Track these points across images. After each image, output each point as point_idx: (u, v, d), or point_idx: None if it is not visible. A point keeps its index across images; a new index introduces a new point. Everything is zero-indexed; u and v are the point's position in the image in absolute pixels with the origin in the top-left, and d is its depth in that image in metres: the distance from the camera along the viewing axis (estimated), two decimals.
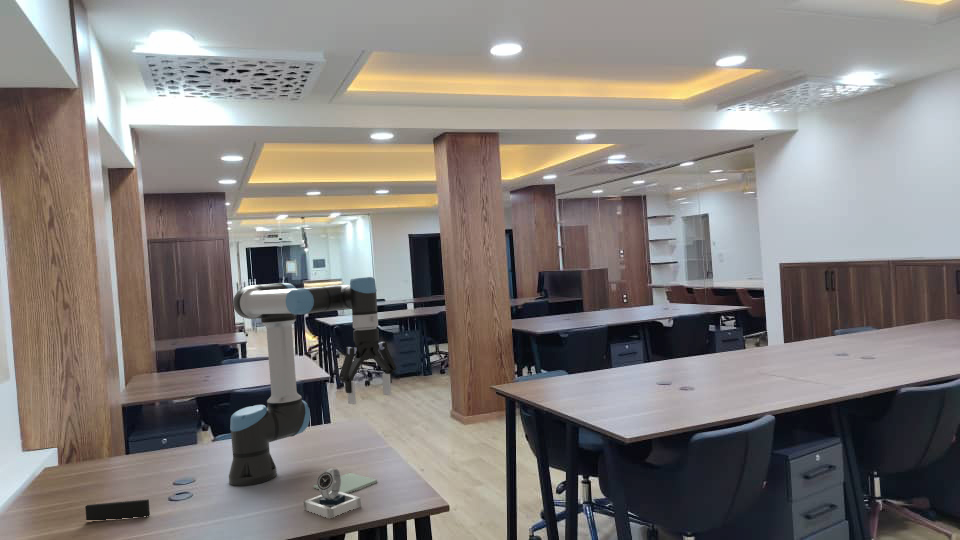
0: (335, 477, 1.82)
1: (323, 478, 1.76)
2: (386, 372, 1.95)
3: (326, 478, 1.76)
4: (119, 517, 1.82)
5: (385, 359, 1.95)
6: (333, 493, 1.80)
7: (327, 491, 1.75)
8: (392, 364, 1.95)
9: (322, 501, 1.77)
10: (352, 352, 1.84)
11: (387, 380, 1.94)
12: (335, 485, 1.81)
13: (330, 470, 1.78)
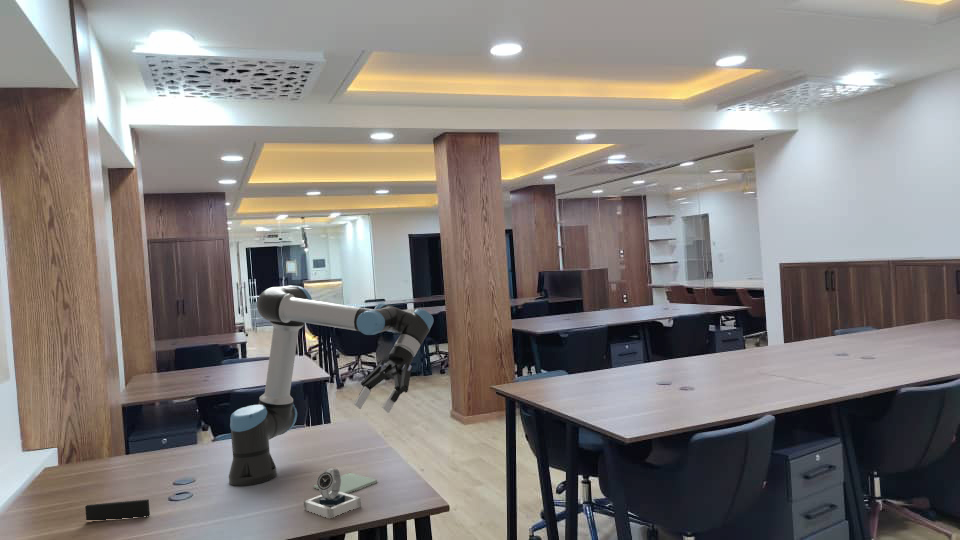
0: (335, 477, 1.82)
1: (323, 478, 1.76)
2: (367, 387, 2.01)
3: (326, 478, 1.76)
4: (119, 517, 1.82)
5: (372, 376, 2.03)
6: (333, 493, 1.80)
7: (327, 491, 1.75)
8: None
9: (322, 501, 1.77)
10: None
11: (367, 395, 1.99)
12: (335, 485, 1.81)
13: (330, 470, 1.78)
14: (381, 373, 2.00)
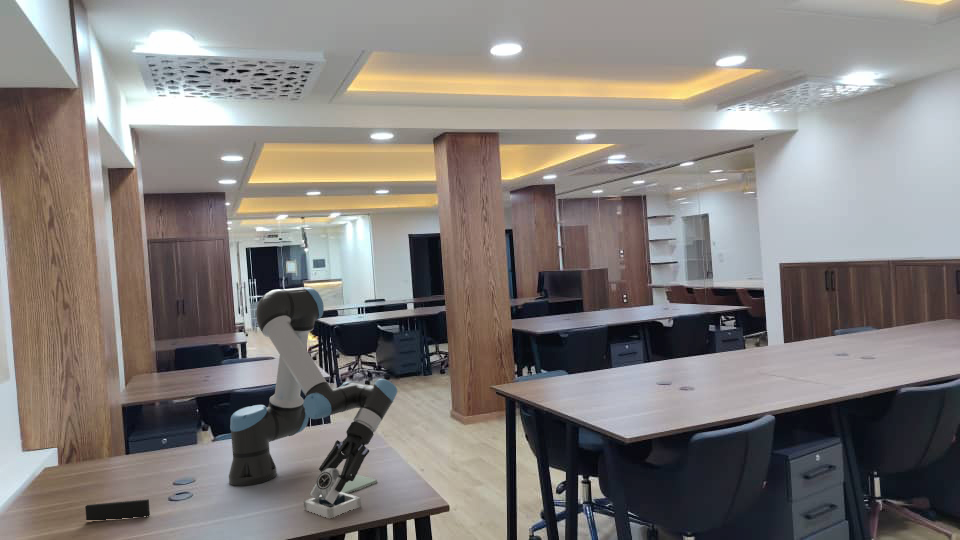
0: (334, 477, 1.82)
1: (322, 478, 1.76)
2: None
3: (326, 477, 1.76)
4: (119, 517, 1.82)
5: (330, 458, 1.85)
6: None
7: (326, 491, 1.75)
8: None
9: (322, 501, 1.77)
10: None
11: None
12: None
13: (329, 470, 1.78)
14: (339, 453, 1.83)
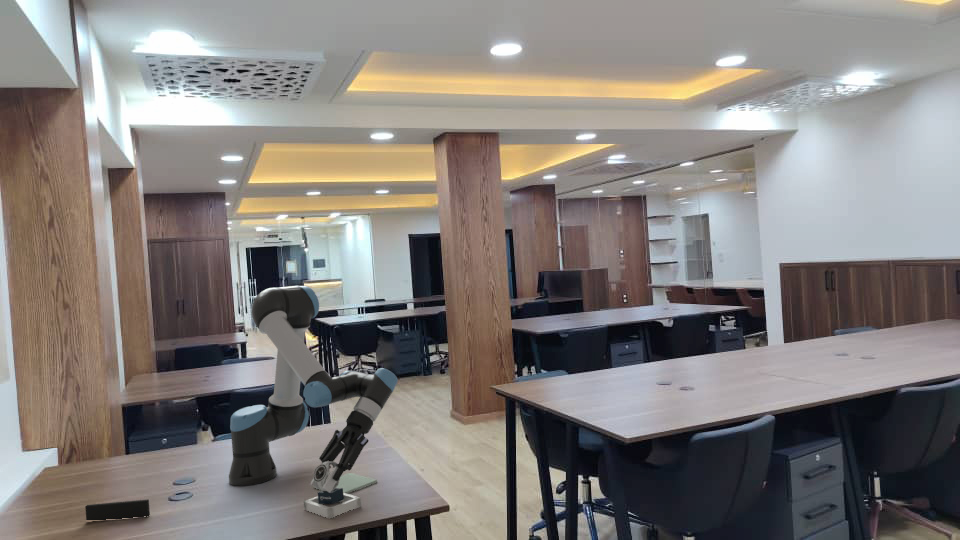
0: None
1: (318, 470, 1.77)
2: None
3: (321, 470, 1.76)
4: (119, 517, 1.82)
5: (330, 448, 1.85)
6: None
7: (321, 483, 1.75)
8: None
9: (320, 494, 1.77)
10: None
11: None
12: None
13: (326, 462, 1.78)
14: (339, 442, 1.83)
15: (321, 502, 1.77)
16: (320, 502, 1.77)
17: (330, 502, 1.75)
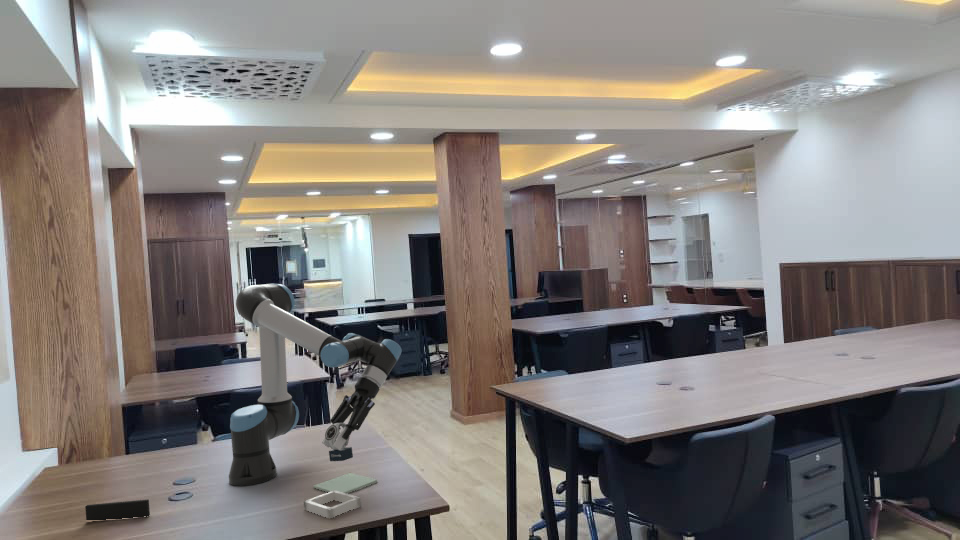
0: None
1: (329, 430, 1.93)
2: None
3: (332, 430, 1.93)
4: (119, 517, 1.82)
5: (340, 411, 2.01)
6: None
7: (332, 441, 1.91)
8: None
9: (331, 452, 1.94)
10: None
11: None
12: None
13: (337, 423, 1.95)
14: (348, 406, 2.00)
15: (332, 459, 1.93)
16: (331, 460, 1.94)
17: (340, 459, 1.92)
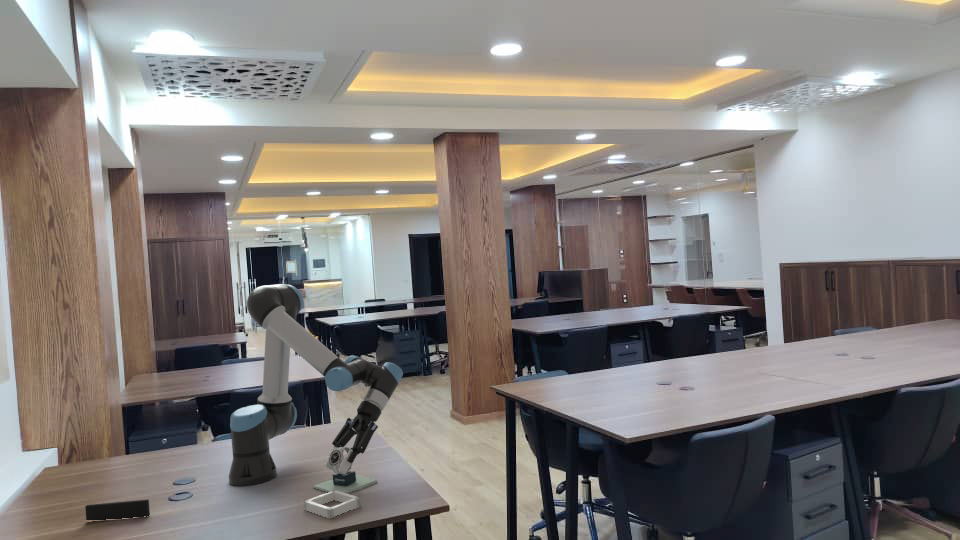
0: None
1: (333, 455, 1.95)
2: (338, 447, 2.01)
3: (336, 455, 1.95)
4: (119, 517, 1.82)
5: (342, 434, 2.04)
6: None
7: (336, 467, 1.93)
8: None
9: (334, 476, 1.96)
10: None
11: None
12: None
13: (340, 448, 1.97)
14: (351, 429, 2.03)
15: (336, 483, 1.96)
16: (335, 483, 1.96)
17: (344, 484, 1.94)
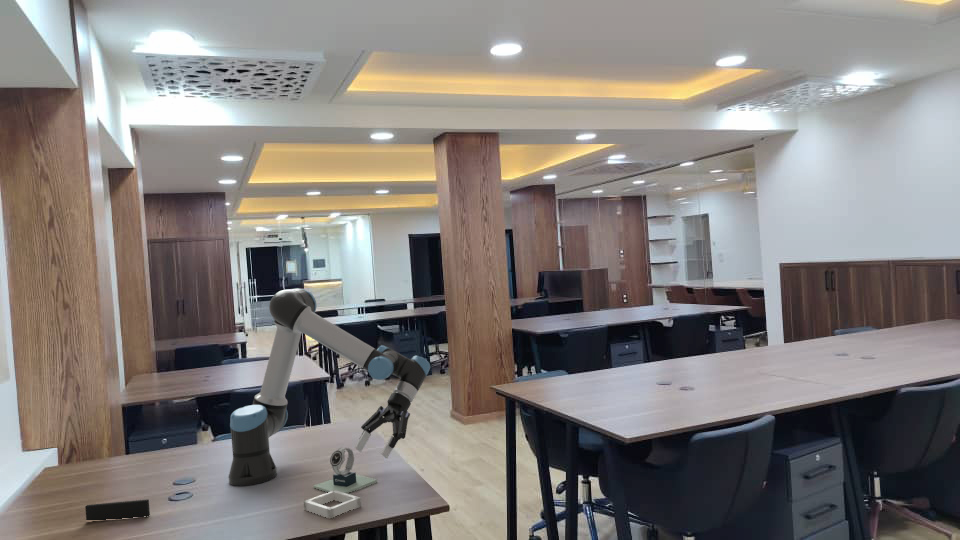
0: (349, 456, 2.00)
1: (335, 455, 1.95)
2: (367, 431, 2.14)
3: (337, 455, 1.94)
4: (119, 517, 1.82)
5: (372, 420, 2.16)
6: (346, 470, 1.98)
7: (337, 468, 1.93)
8: None
9: (335, 476, 1.96)
10: None
11: (367, 439, 2.13)
12: (349, 463, 1.99)
13: (342, 449, 1.96)
14: (380, 418, 2.13)
15: (336, 484, 1.96)
16: (335, 483, 1.96)
17: (344, 485, 1.94)
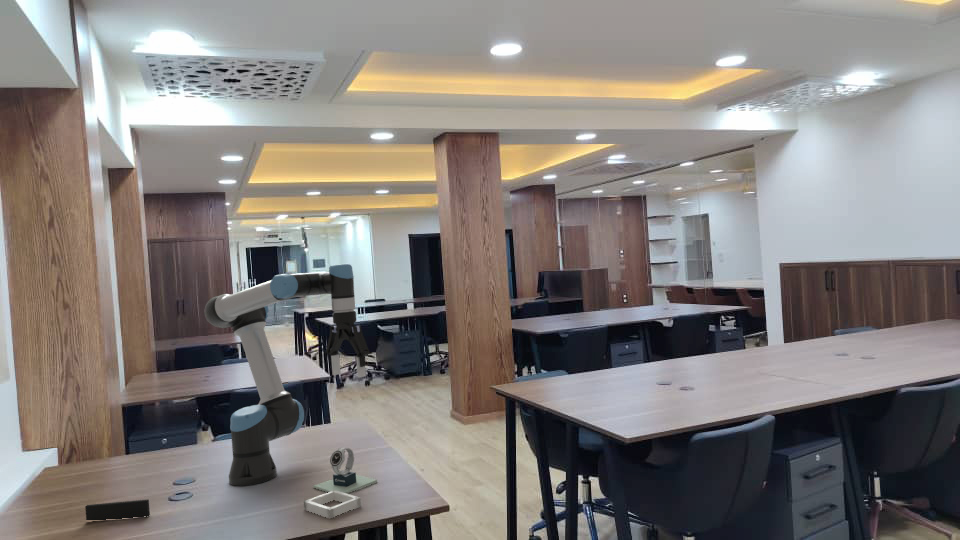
0: (349, 456, 2.00)
1: (335, 455, 1.95)
2: (334, 354, 2.12)
3: (337, 455, 1.94)
4: (119, 517, 1.82)
5: (332, 342, 2.11)
6: (346, 470, 1.98)
7: (337, 467, 1.93)
8: None
9: (335, 476, 1.96)
10: None
11: (338, 360, 2.12)
12: (349, 463, 1.99)
13: (342, 449, 1.96)
14: (337, 340, 2.08)
15: (336, 484, 1.96)
16: (335, 483, 1.96)
17: (344, 485, 1.94)
